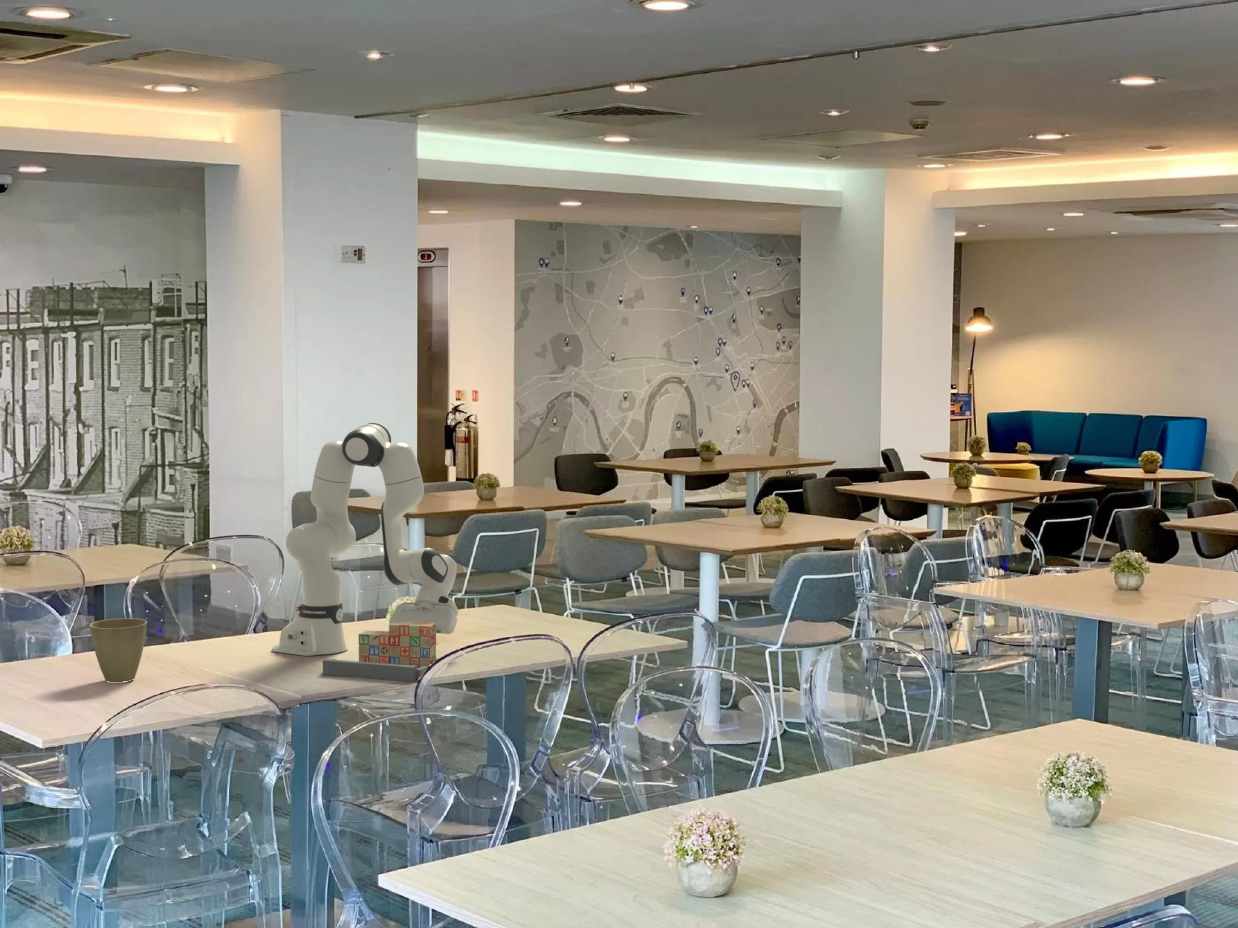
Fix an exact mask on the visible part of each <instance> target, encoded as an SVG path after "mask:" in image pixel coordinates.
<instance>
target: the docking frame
mask: <svg viewBox="0 0 1238 928" xmlns="http://www.w3.org/2000/svg"><path fill="white" fill-rule="evenodd" d="M428 667H429V666H423V667H420V668H416V666H410V665H397V664H384V663H371V662H359V660H357V661H356V660H345V659H344V660H342V659H337V658H326V659H323V660H322V675H324V676H334V677H335V676H336V677H346V678H347V677H349V678H360V679H361V678H362V679H372V680H383V681H384V680H385V681H386V680H387V681H397V682H409V683H410V682H411V683H413V682H416V681H417V680H418V679H419V677H421V675H422V674H423V673H424V671H425V670H427V668H428Z"/></svg>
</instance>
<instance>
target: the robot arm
mask: <svg viewBox="0 0 1238 928" xmlns="http://www.w3.org/2000/svg"><path fill="white" fill-rule="evenodd" d="M317 458H318V459H317V462H316V466H315V470H314V474H313V478H312V479H313V480H312V484H311V492H310V498H309V499H310V502H311V504H312V505H313V506H314V507H315V510H316V520H315V521H314V522H308V523H303V524H301V525H298V526H296V527H294V528H293V529H291V530H289V532H288V533H287V536H286V539H285V546H286V550H287V552H288V554H289V555H290V556H291V558H292V559H294V560H295V561H296V563H297V565H298V568H299V570H300V573H301V579H302V587H303V589H302V590H303V591H302V592H303V593H302V594H303V604H300V605H299V606H297V607H295V611H296V612H298V611H299V613H298V616H297V617H296V618H294V619H293V620H292V621H291V622H290V623H288V624H286V626H284V627H283V628H282V630H281V632H280V636H279V640H278V641H279V642H278V643H277V644H275V645H274V646H272V648H271V652H274V653H275V652H276V653H284V654H289V655H290V654H291V655H298V656H304V657H311V656H318V655H319V656H320V655H330V654H331V655H332V654H338V653H342V652H346V651H347V650H348V647H347V643H346V639H345V635H344V628H343V615H344V614H343V613H344V609H343V608H344V607H343V606H344V605H343V603H342V588H341V587H342V586H341V585H342V583H341V582H342V581H341V577H340V575H339V574H338V573H337V572H335V571H334V568H333V566H332V562H331V557H334V556H340V555H342V554H344V553H346V552H347V551H349V550H351V549H352V548H353V547H354V545H355V544H356V539H357V534H356V530H355V528H354V526H353V525H352V524H351V522H350V519H349V514H348V513H349V512H348V509H349V508H348V507H349V506H348V505H349V504H348V503H349V497H350V493H351V492H350V491H351V484H352V481H353V480H352V479H353V474H354V469H355V467H356V466H360V467H371V468H376V467H378V468H379V469H380V472H381V474H382V477H383V482H384V483H383V484H384V487H385V499H384V501H383V502H382V503H381V507H380V520H381V533H382V543H383V544H382V545H383V573H384V575H385V577H386V578H387V580H388V581H390V582H391V584H393V585H394V586H401V585H406V584H411V583H418V582H419V583H420V585H421V586H420V589H419V590H418V592H417V596H416V598H415V600H414V602H407V601H404V602H402V603H399V604H397V605H396V607H395V610H394V611H393V613H392V614H391V617H390V618H389V621H388V623H389V625H390V624H391V623H393V622H394V621H404V622H416V621H417V622H427V623H436V634H439V635H440V634H441V635H442V634H443V635H451V634H452V633H454V632H455V629H456V627H457V622H458V617H457V616H458V615H459V608H458V606H457V605H456V603H455V601H454V600H453V599H452V598H450V597H448V596H449V594H450V592H451V591H452V589H453V587H454V583H455V581H456V577H457V571H458V565H457V563H456V561H455V559H453V558H452V557H451V556H449V555H448V554H443V553H441V554H440V553H439V552H438V551H437V550H436V549H435V548H432V547H423V548H416V549H409V550H408V549H407V550H405V548H403V543H402V542H403V541H402V539H403V538H402V531H401V521H402V519H403V517H404V516H405V515H406V514H407V513H409V512H410V511H412V510H413V509H414V508H416V507H417V506H418V505H419V504H420V502H421V500H422V499H423V498H424V494H425V487H424V481H423V477H422V473H421V470H420V466H419V465H420V464H419V463H418V460H417V458H416V454H415V453H414V451H413V449H412V447H411V446H410V445H409V444H407V443H405V442H394V443H393V442H392V436H391V434H390V431H389V429H387V428H386V427H385V426H384V425H382V424H380V423H376V422H369V423H366V424H363V425H360V426H358V427H356V428H355V429H353V430H352V431H350V432H349V433H348V434H346V436H345V437H344V439H343V441H341V440H330V441H328V442H326V443H325V444H324V445H323V446H322V448H321V450H320V454H319V456H318V457H317Z"/></svg>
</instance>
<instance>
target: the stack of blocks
mask: <svg viewBox="0 0 1238 928" xmlns="http://www.w3.org/2000/svg"><path fill="white" fill-rule="evenodd" d="M435 661H436V662H437V633H436V623H427V622H417V621H416V622H404V621H394V622H393V623H391V624H390V623H389V624H388V630H386V631H385V630H367V629H366V630H365V629H364V630H363V631H362V632H360V633H358V662H371V663H384V664H397V665H410V666H416V667H423V666H429V665H430V664H432V663H433V662H435Z"/></svg>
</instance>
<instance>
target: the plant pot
mask: <svg viewBox="0 0 1238 928" xmlns="http://www.w3.org/2000/svg"><path fill="white" fill-rule="evenodd" d="M147 624H148V621H147V620H146V619H145V620H144V619H142V618H141V619H140V618H132V617H131V618H129V617H127V618H122V617H121V618H110V619H102V620H97V621H94V622H92V623H90V624H89V630H90V635H91V642H92V645H93V650H94V653H95V656H96V659H97V663H98V666H99V669H100V671H101V673H102V675H103V678H104V680H105V682H106V681H109V682H123V681H129V680H132V679H134V680H135V678H136V675H137V672H138V670H139V666H140V663H141V659H142V655H143V650H144V648H145V647H144V646H145V640H146V633H147Z"/></svg>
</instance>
